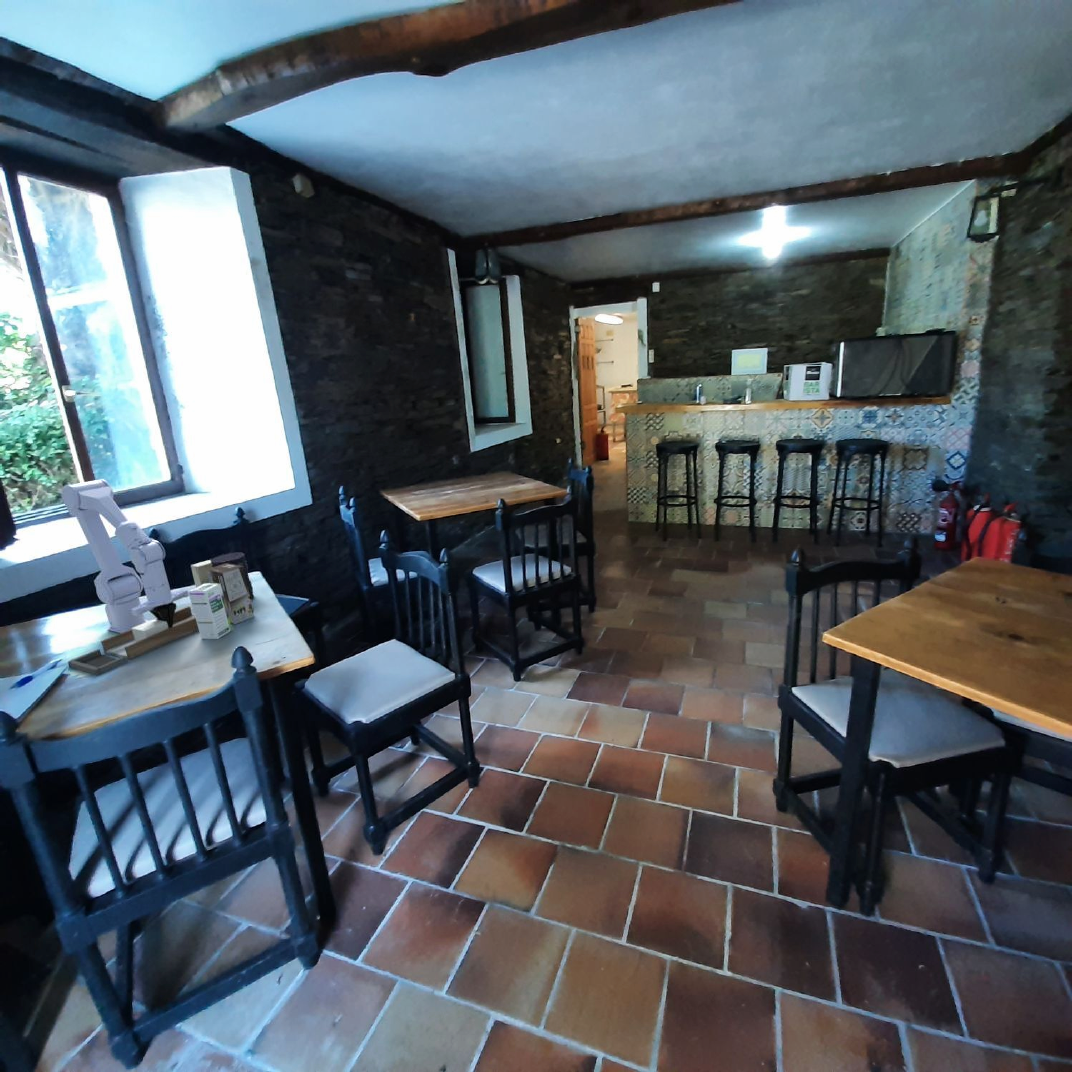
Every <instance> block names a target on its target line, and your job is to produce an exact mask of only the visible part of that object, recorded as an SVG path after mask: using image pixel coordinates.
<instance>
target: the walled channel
mask: <svg viewBox="0 0 1072 1072" xmlns="http://www.w3.org/2000/svg"><path fill="white" fill-rule="evenodd" d="M191 608H192V607H191V606H190V605H187V606H185V607H183V608H180V609H178V610H175V612H174V617H173V627H171V628H169V629H166V630H164V631H161V632H159V633H157V634H154V635H152V636H150V637H147V638H145V639H143V640H140V641H138V642H136V641H135V638H134V635H133V632H132V629H130V630H127V631H125V632H122V633H118V634H115V635H112V636H111V637H108V638H105V639H103V640H101V641H100V643H101V646H102V649H103V652H104V654H108V655H111V656H115V657H118V658H121V657H123V656H125V657H126V659H127V660H129V661H131V660H134V659H136V658H137V657H140V656H142V655H144V654H146V653H149V652H151V651H154V650H155V649H158V648H160V647H162V646H165V645H167V644H169V643H171V642H174V641H175V640H178V639H180V638H182V637H184V636H185V637H186V636H187V635H189V634H191V633H193V632H196V631H199V628H198V625H197V621H196V618H195V615H194V614H193V613H192V609H191ZM155 620H158V619H157V618H155Z"/></svg>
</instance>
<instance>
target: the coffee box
mask: <svg viewBox="0 0 1072 1072" xmlns="http://www.w3.org/2000/svg"><path fill="white" fill-rule="evenodd" d="M207 574H208V578H209V582H210V583H218V584H221V588H222V591H223V595H224V599H225V603H226V607H227V610H228V614H229V618H230V622H231V624H234V625H236V624H239V623H242V622H244V621H246V620H249V619H251V618H254V617H255V612H254V608H253V605H252V604H253V603H252V600H251V599H250V595H249V591H248V586H247V582H246V578H245V573H244V569H243V566H239V565H234V564H229V563H225V564H222V565H219V566H216V567H214V568H211V569H208V570H207Z"/></svg>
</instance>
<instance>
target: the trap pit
mask: <svg viewBox="0 0 1072 1072" xmlns="http://www.w3.org/2000/svg"><path fill="white" fill-rule="evenodd" d="M125 663H128V659H126V657H125V656H123V657H118V658H115V657H111V656H108V655H104V654H102V652H101V650H100V649H99V648H98V649H95V650H93V651H90V652H88V653H85V654H84V655H83V654H82V655H81V656H79V657H76V658H74V659H70V660H69V661H67V665H68V666H69V668H71V669H75V670H78V671H81V672H85V673H88V674H91V675H94V676H100V675H102V674H105V673H106V672H108V671H111V670H113V669H115V668H118V667H119V666H122V665H124V664H125Z"/></svg>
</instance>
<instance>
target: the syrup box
mask: <svg viewBox="0 0 1072 1072" xmlns="http://www.w3.org/2000/svg"><path fill="white" fill-rule="evenodd" d="M188 594H189V596H188V597H189V600H190V604H191V608H192V611H193V615H195V618H196V621H197V625H198V628H199V629H198V632H199V635H200V638H201V639H202V640H203V639H204V640H219V639H221V638H222V637H223V636H225V635H227V634H228V633H230V632H231V631H232V632H233V630H234V629H233V626H232V623H231V622H230V618H229V614H228V610H227V607H226V603H225V599H224V595H223V591H222V588H221V584H218V583H207V584H202V585H201V586H199V587H197V588H196V587H195V588H193V589H191V590H189V591H188Z"/></svg>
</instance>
